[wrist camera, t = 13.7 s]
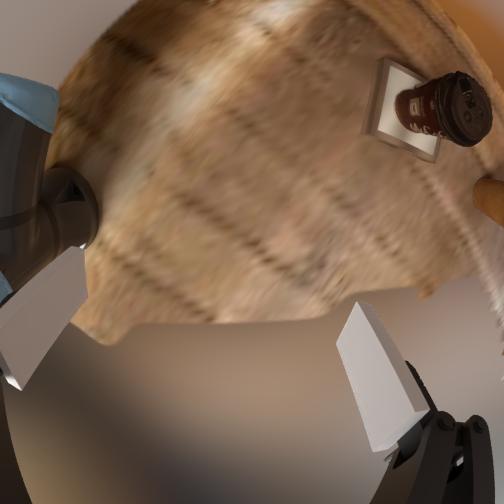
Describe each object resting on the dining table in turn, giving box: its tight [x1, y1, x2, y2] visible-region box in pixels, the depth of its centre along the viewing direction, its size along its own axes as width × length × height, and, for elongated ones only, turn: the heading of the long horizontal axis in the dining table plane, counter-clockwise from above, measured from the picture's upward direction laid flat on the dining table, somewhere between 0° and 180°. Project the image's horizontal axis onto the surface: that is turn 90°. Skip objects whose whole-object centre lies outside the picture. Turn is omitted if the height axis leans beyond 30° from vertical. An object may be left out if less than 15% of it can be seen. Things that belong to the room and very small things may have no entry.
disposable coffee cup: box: [473, 178, 504, 228], centre depth 31 cm, size 10×10×12 cm
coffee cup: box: [393, 71, 493, 147], centre depth 22 cm, size 9×8×13 cm
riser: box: [361, 58, 441, 164], centre depth 30 cm, size 12×12×3 cm
